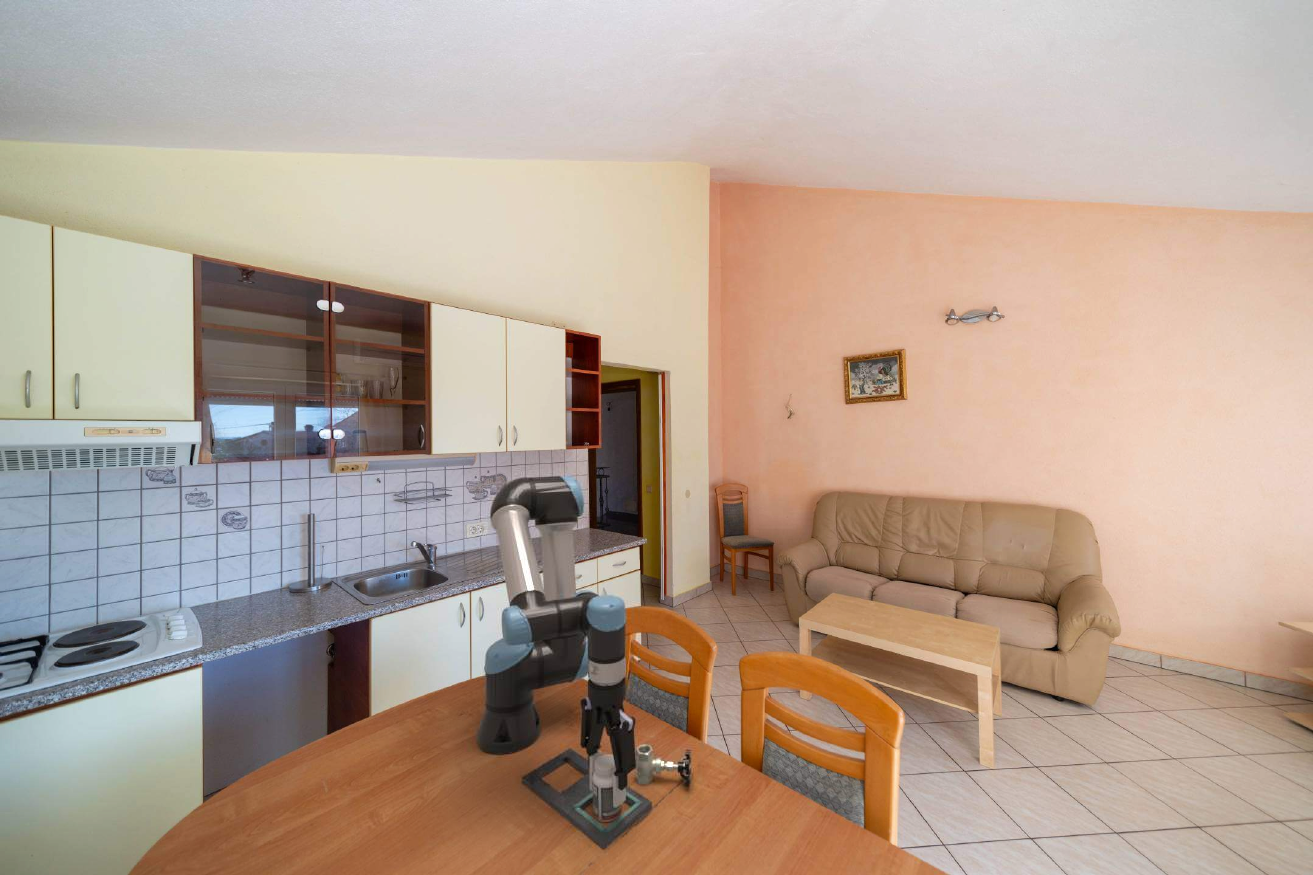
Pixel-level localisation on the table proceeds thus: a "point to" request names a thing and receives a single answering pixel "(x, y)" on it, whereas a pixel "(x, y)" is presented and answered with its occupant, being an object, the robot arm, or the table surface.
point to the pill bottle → (604, 789)
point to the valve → (659, 765)
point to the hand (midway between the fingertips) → (607, 794)
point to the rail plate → (583, 799)
